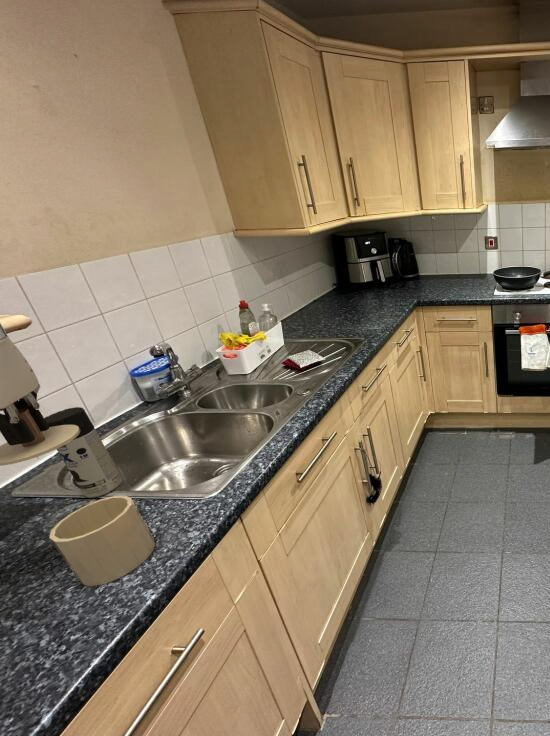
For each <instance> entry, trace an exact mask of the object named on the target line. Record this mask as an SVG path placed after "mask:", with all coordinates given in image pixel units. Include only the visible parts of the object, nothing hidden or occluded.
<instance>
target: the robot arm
mask: <svg viewBox="0 0 550 736" xmlns="http://www.w3.org/2000/svg"><path fill="white" fill-rule="evenodd" d="M40 389H41V384H40V382H39V379H38V377H37V375H36V373H35V371H34V369H33V368H32V366H31V364H30V362H29V361H28V360H27V359H26V357H25V356H24V355H23V353H22V352H21V351H20V349H19V348H18V347H17V345H15V343H14V342H13V340H11V339H10V336H9V335H8V334H7V332H6V330H5V328H4V326H3V325H2V323H1V322H0V412H3V413H0V433H1V435H2V436H3V438H4V440H5V441H6V443H8V444H9V445H18V444H23V443H28V442H32V441H34V440H35V437H34V435H33V433H32V432H31V430H30V429H29V427H28V425H27V424H26V422H25V421H24V420H19V418H18V416H17V414H16V412H15V410H19V409H28V410H29V412H30V413H31V415H32V417H33V418H34V420H35V422H36V423H37V425H38V426H39V428H40V430H41V431H47V430H48V429H49V426H48V424H47V422H46V421H45V419H44V418H45V416H43V414H42V413H41V411H40V407H41V405H40V403H39V402H38V400H37V399H38V393H39V391H40Z"/></svg>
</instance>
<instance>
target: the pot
mask: <svg viewBox="0 0 550 736" xmlns="http://www.w3.org/2000/svg"><path fill="white" fill-rule="evenodd" d="M49 540H50V541H51V542H52V544H53V545H54V547H55V548H56V550H57V551H58V553H59V554H60V555H61V557H62V558H63V560H64V561H65V563H66V564H67V566H68V567H69V569H70V570H71V572H72V573H73V574H74V576H75V577H76V579H77V580H78V581H79V582H80V583H81V584H82V585H83V586H85V587H97V586H103V585H105V584H109V583H112V582H114V581H116V580H118V579H120V578H122V577H124V576H126V575H128V574H129V573H131V572H133V571H134V570H135V569H137V568H138V567H140V566H141V565H142V564H143V563H144V562H146V560H147V559H148V558H150V556H151V555H152V553H153V552H154V550H155V548H156V541H155V538H154V537H153V534H152V533H151V531H150V529H149V527H148V526H147V523H146V522H145V520H144V518H143V516H142V515H141V513H140V511H139V510H138V508H137V506H136V504H135V502H134V500H133V498H131V497H130V496H127V495H112V496H108V497H104V498H100V499H98V500H95V501H93V502H91V503H87V504H85V505H84V506H82V507H80V508H78V509H76V510H75V511H73V512H70V513H69V514H68V515H66V516H65V517H64V518H62V519H61V520H59V522H57V523H56V524H55V525H54V527H52V529H51V530H50V533H49Z"/></svg>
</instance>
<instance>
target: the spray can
mask: <svg viewBox="0 0 550 736" xmlns="http://www.w3.org/2000/svg"><path fill="white" fill-rule="evenodd" d="M44 419H45V421H46V422H47V424H48V426H49V428H50V427H54V426H60V425H76V426H78V427H79V429H80V433H79V435H78V436H77V437H76V438H74V439H73V440H72V441H70V442H69V443H67V444H65V445H63V446H61V447H59V448H57V449H56V451H57V452H58V455H59V456H60V457H61V459H62V461H63V463H64V464H65V466H66V468H67V469H68V471H69V473H70V474H71V476H72V478H73V480H74V481H75V483H76V484H77V486H78V488H79V489H80V492H81V493H82V494H83V496H84V497H86V498H88V499H97V498H99V497H103V496H106V495H108V494H111V492H109V491H112V492H114V491H115V490H117V489H118V488H119V487H121V485H122V483H123V478H122V476H121V474H120V472H119V470H118V468H117V467H116V464H115V463H114V461H113V459H112V458H111V455H110V453H109V452H108V450H107V448H106V446H105V445H104V442H103V441H102V439H101V437H100V435H99V433H98V432H97V429H96V427H95V425H94V424H93V422H92V420H91V419H90V417H89V415H88V414H87V412H86V410H85V409H84V408H83V407H79V406H75V407H70V408H66V409H65V408H64V409H63V410H59V411H57V412H54V413H52V414H49V415H48V416H44Z"/></svg>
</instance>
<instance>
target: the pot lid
mask: <svg viewBox="0 0 550 736" xmlns="http://www.w3.org/2000/svg"><path fill="white" fill-rule="evenodd" d="M15 412H16V414H17V416H18V418H19V420H24V421H25V422H26V424H27V425H28V427H29V429H30V430H31V432H32V433H33V435H34V437H35V440H34V441H32V442H28V443H23V444H18V445H9V444H8V443H7V442H5V443H2V444H1V445H0V467H2V466H8V465H14V464H18V463H22V462H25V461H29V460H33V459H35V458H39V457H41V456H43V455H46V454H49V453H51V452H53V451H55V450H57V448H59V447H61V446H63V445H65V444H67V443H69V442H70V441H72V440H73V439H74V438H76V437H77V436H78V435H79V433H80V429H79V427H78V426H76V425H60V426H54V427H50V428H49V429H48V430H47V431H41V430H40V428H39V426H38V425H37V423H36V422H35V420H34V418H33V417H32V415H31V413H30V412H29V410H28V409H19V410H15Z"/></svg>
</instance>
